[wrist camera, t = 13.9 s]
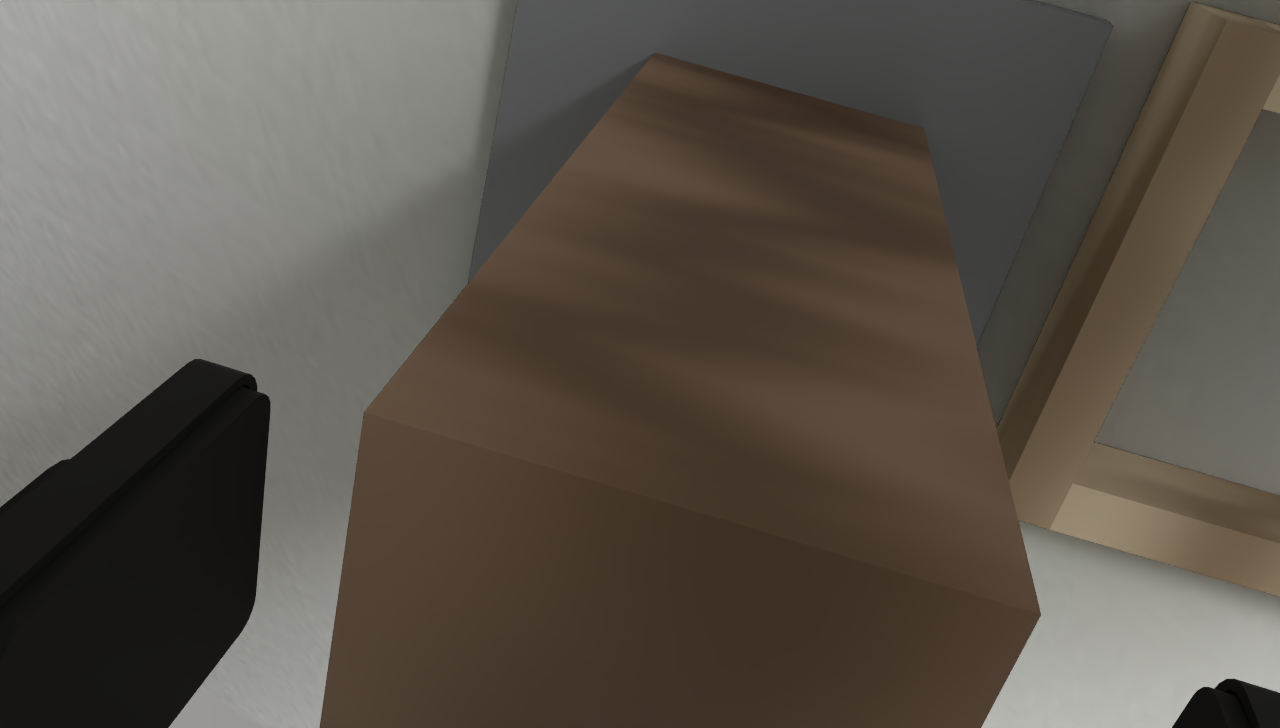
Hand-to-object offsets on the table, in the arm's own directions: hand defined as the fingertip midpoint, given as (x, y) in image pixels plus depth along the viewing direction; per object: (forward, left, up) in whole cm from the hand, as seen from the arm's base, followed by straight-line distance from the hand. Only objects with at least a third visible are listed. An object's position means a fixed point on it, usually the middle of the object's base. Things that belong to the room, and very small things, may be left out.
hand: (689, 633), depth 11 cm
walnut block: (0, 0, -14) cm, 14 cm away
